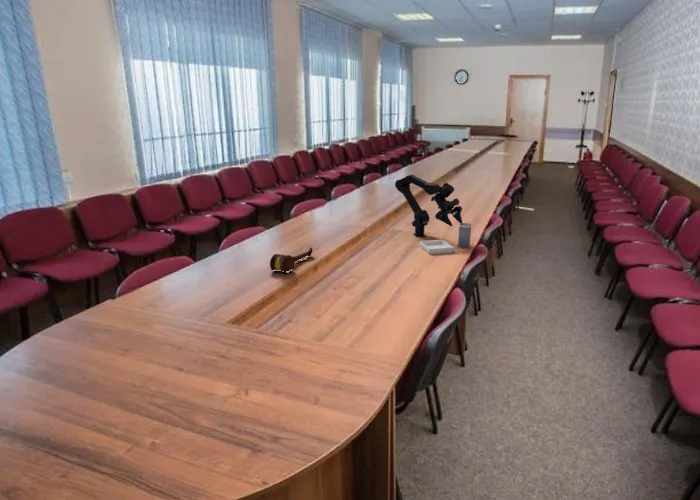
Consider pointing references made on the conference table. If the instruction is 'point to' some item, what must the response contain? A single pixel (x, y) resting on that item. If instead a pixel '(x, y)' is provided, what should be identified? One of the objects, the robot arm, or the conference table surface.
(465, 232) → the canister
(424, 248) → the tray
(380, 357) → the conference table surface
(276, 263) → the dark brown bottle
